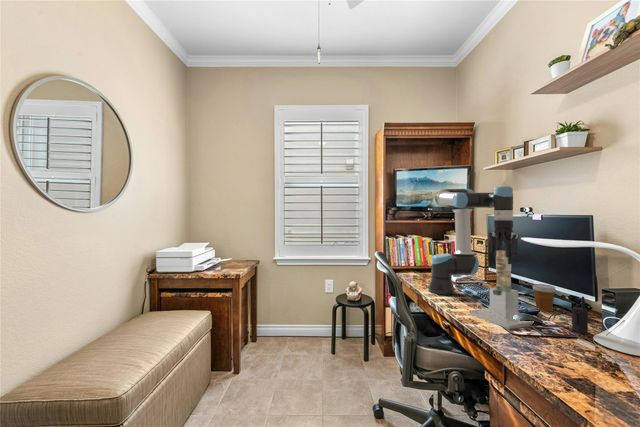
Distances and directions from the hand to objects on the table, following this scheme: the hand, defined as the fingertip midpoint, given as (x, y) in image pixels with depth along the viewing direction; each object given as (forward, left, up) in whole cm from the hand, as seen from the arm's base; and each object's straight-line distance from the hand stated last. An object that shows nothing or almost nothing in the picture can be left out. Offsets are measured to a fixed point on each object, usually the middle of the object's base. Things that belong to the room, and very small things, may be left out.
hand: (503, 269), depth 135 cm
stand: (0, 0, -23) cm, 23 cm away
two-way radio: (+22, +14, -23) cm, 35 cm away
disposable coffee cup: (-2, +31, -23) cm, 39 cm away
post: (0, 0, -15) cm, 15 cm away
